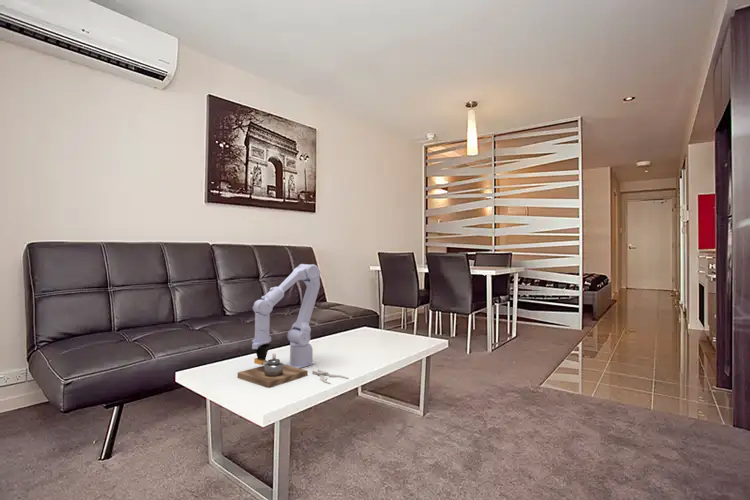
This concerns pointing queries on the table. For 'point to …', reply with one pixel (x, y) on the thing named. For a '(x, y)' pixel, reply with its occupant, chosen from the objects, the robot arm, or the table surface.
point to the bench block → (269, 381)
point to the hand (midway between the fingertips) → (261, 363)
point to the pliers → (326, 375)
